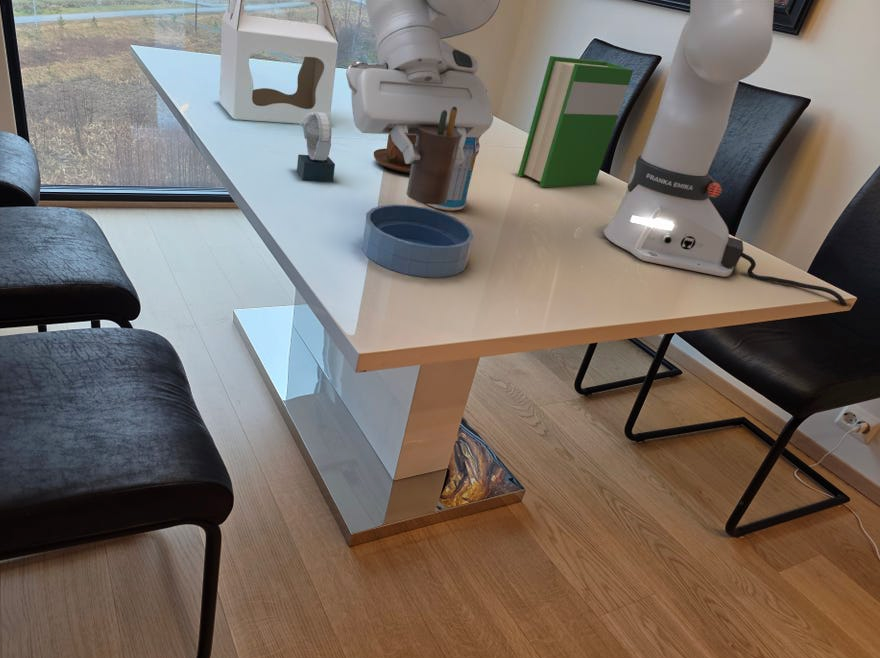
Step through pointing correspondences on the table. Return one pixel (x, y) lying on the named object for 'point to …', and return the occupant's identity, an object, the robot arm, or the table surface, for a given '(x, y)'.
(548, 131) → the hardback book
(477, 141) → the beverage bottle
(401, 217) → the bowl
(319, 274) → the table surface
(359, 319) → the table surface
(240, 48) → the gable box
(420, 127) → the pot
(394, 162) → the cup and saucer
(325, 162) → the watch
